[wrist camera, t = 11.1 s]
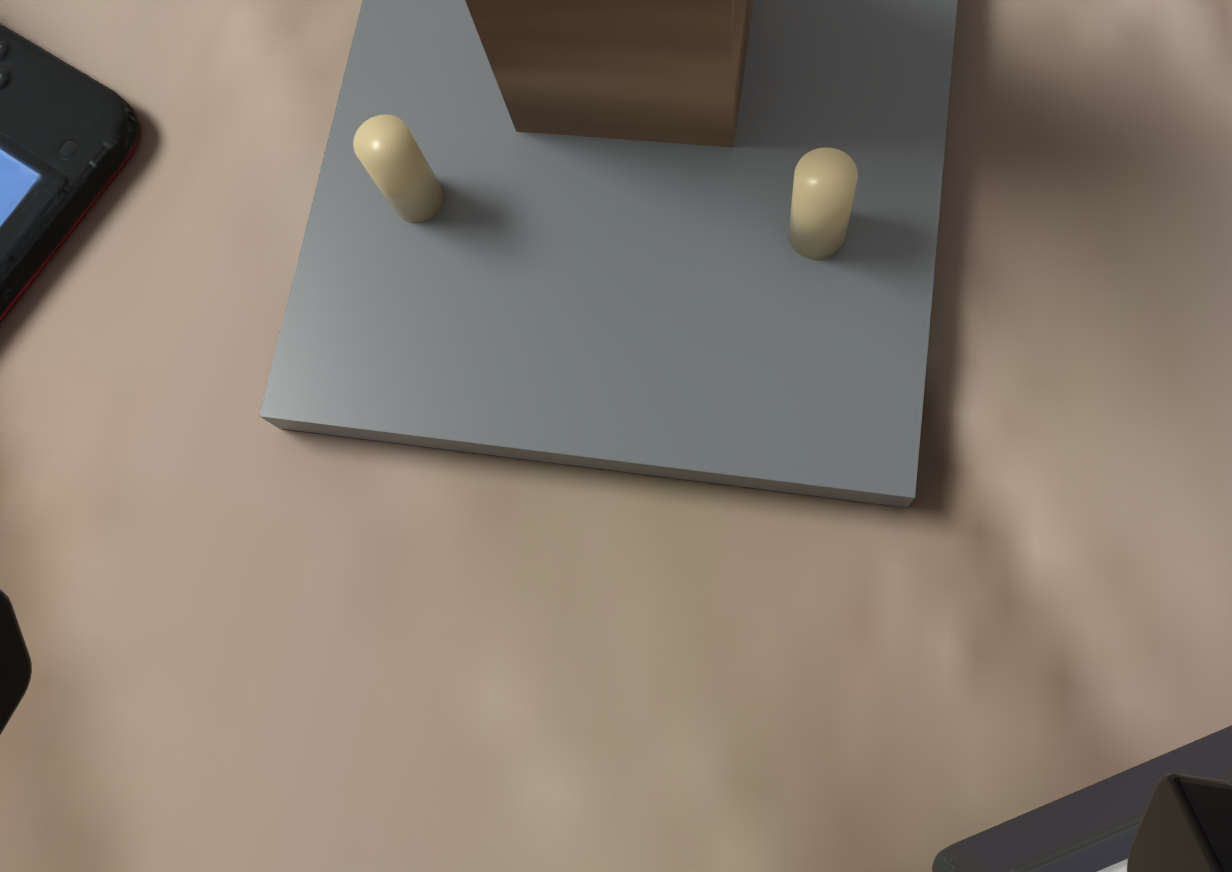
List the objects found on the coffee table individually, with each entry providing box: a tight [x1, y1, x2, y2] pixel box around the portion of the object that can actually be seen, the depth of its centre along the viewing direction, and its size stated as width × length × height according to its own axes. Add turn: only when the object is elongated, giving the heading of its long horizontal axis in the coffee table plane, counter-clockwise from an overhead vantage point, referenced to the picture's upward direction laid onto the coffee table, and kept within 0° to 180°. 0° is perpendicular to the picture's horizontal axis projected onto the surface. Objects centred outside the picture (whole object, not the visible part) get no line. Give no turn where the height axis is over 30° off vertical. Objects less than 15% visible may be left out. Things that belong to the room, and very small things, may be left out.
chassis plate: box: [260, 0, 958, 508], centre depth 23 cm, size 20×14×4 cm
